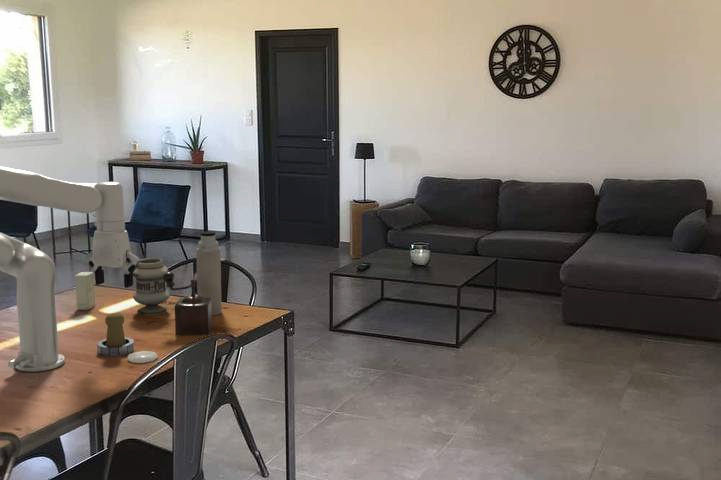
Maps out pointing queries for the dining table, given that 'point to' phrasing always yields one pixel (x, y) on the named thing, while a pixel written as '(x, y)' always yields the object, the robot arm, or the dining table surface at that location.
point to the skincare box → (85, 290)
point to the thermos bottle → (209, 270)
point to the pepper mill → (190, 310)
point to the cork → (115, 330)
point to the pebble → (142, 357)
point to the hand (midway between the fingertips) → (114, 285)
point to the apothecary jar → (150, 286)
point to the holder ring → (115, 348)
